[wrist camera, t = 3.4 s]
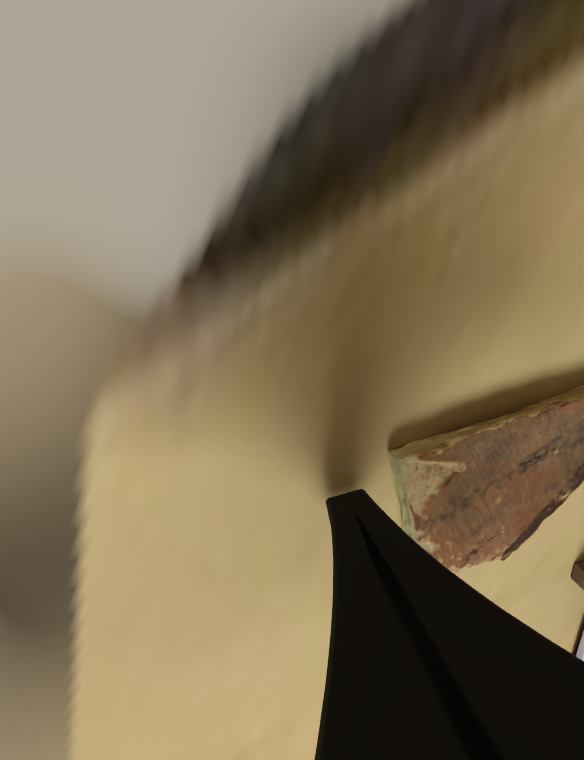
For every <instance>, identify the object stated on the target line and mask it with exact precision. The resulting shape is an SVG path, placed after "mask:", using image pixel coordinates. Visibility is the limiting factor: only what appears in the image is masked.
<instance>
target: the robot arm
mask: <svg viewBox="0 0 584 760" xmlns="http://www.w3.org/2000/svg"><path fill="white" fill-rule="evenodd" d="M326 505H327V510H328V515H329V519H330V524H331V530H332V543H333V606H332V622H331V636H330V646H329V657H328V667H327V676H326V684H325V692H324V699H323V706H322V713H321V720H320V728H319V735H318V742H317V748H316V754H315V760H584V631H583V634H582V637H581V641H580V644H579V647H578V651H577V654H576V656H575V655H573V654H571V653H570V652H568V651H566V650H565V649H563V648H561V647H560V646H558V645H557V644H555V643H553V642H552V641H550V640H549V639H547V638H546V637H544V636H543V635H541V634H539V633H538V632H536V631H535V630H533V629H532V628H530V627H529V626H527V625H526V624H524V623H523V622H521V621H520V620H518V619H517V618H515V617H514V616H512V615H511V614H509V613H507V612H506V611H504V610H503V609H501V608H500V607H499V606H497V605H496V604H494V603H493V602H492V601H490V600H489V599H487V598H486V597H485V596H483V595H482V594H480V593H479V592H478V591H476V590H475V589H473V588H472V587H471V586H469V585H468V584H467V583H465V582H464V581H463V580H461V579H460V578H459V577H458V576H456V575H455V574H454V573H452V572H451V571H450V570H449V569H447V568H446V567H445V566H444V565H442V564H441V563H440V562H439V561H437V560H436V559H435V558H434V557H433V556H432V555H430V554H429V553H428V552H427V551H426V550H424V549H423V548H422V547H421V546H420V545H419V544H418V543H416V542H415V541H414V540H413V539H412V538H411V537H410V536H409V535H408V534H407V533H405V532H404V531H403V530H402V529H401V528H400V527H399V526H398V525H397V524H396V523H395V522H394V521H393V520H392V519H391V518H390V517H389V516H388V515H387V514H386V513H385V512H384V511H383V510H382V509H381V508H380V507H379V506H378V505H377V504H376V503H375V502H374V501H373V500H372V498H371V497H370V496H369V495H368V494H367V493H366V492H365V491H364V490H363V489H359V490H355V491H352V492H348V493H345V494H341V495H338V496H334V497H331V498H328V499H327V500H326Z"/></svg>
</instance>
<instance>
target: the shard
mask: <svg viewBox="0 0 584 760" xmlns="http://www.w3.org/2000/svg"><path fill="white" fill-rule="evenodd" d="M388 453H389V458H390V463H391V466H392V469H393V474H394V478H395V484H396V488H397V491H398V496H399V499H400V503H401V513H402V530H403V531H404V532H405V533H407V534H408V535H409V536H410V537H411V538H412V539H413V540H414V541H415V542H416V543H418V544H419V545H420V546H421V547H422V548H423V549H424V550H426V551H427V552H428V553H429V554H430V555H432V556H433V557H434V558H435V559H436V560H437V561H439V562H440V563H441V564H442V565H444V566H445V567H446V568H447V569H449V570H450V571H451V572H452V573H456V572H458V571H460V570H462V569H464V568H470V567H472V566H475V565H480V564H483V563H485V562H491V561H494V560H495V559H497V560H505V559H506V558H507V557H509V556H510V555H511V553H512V552H513V551H515V550H517V549H518V548H519V547H520V546H521V544H522V543H524V542H525V541H526V540H527V539H528V538H529V537H530V536H531V535H532V534H533V533H534V532H535V531H536V530H537V529H538V527H539V526H540V524H541V523H542V521H543V520H544V519H545V518H547V517H548V516H550V515H551V514H552V513H553V512H554V511H555V510H556V509H557V508H558V507H559V506H561V505H562V504H563V503H564V501H565V500H566V499H567V498H568V496H569V495H570V494H571V493H572V492H573V491H574V490H576V489H577V488H578V487H579V486H580V485H581V484H582V482H583V481H584V384H583V385H581V386H579V387H576V388H574V389H572V390H570V391H567V392H565V393H563V394H560V395H557V396H555V397H552V398H549V399H545V400H542V401H540V402H539V403H537V404H531V405H528V406H526V407H525V408H523V409H521V410H519V411H517V412H515V413H512V414H507V415H503V416H500V417H498V418H495V419H491V420H488V421H485V422H479V423H476V424H474V425H472V426H468V427H465V428H463V429H458V430H455V431H453V432H448V433H443V434H438V435H436V436H432V437H428V438H425V439H421V440H415V441H411V442H409V443H407V444H406V445H404V446H403V447H401V448H398V449H393V450H389V452H388Z"/></svg>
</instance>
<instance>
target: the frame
mask: <svg viewBox="0 0 584 760" xmlns="http://www.w3.org/2000/svg"><path fill="white" fill-rule="evenodd" d="M571 579H572V580H574V581H575V582H576V583H577V584H578V585H579V586H580V587H581V588H582V589H583V590H584V561H581V562H578V563H575V565H574V569H573V573H572V577H571Z"/></svg>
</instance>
